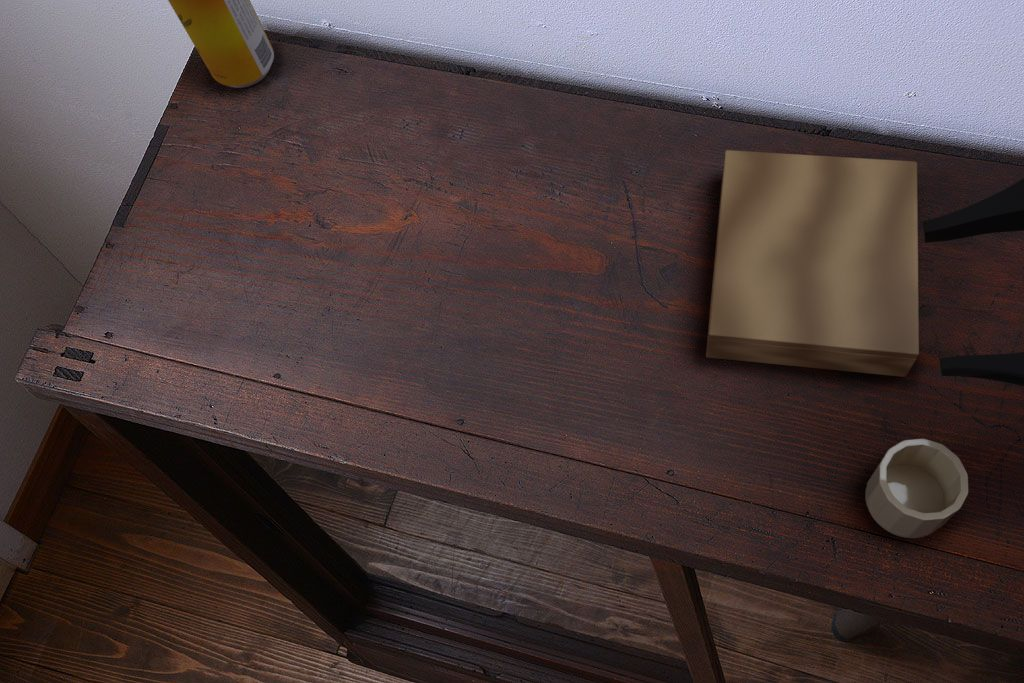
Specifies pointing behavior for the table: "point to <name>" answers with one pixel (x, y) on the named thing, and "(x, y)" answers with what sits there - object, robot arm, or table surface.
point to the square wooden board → (816, 263)
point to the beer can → (227, 39)
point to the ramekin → (916, 488)
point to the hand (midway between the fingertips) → (931, 298)
